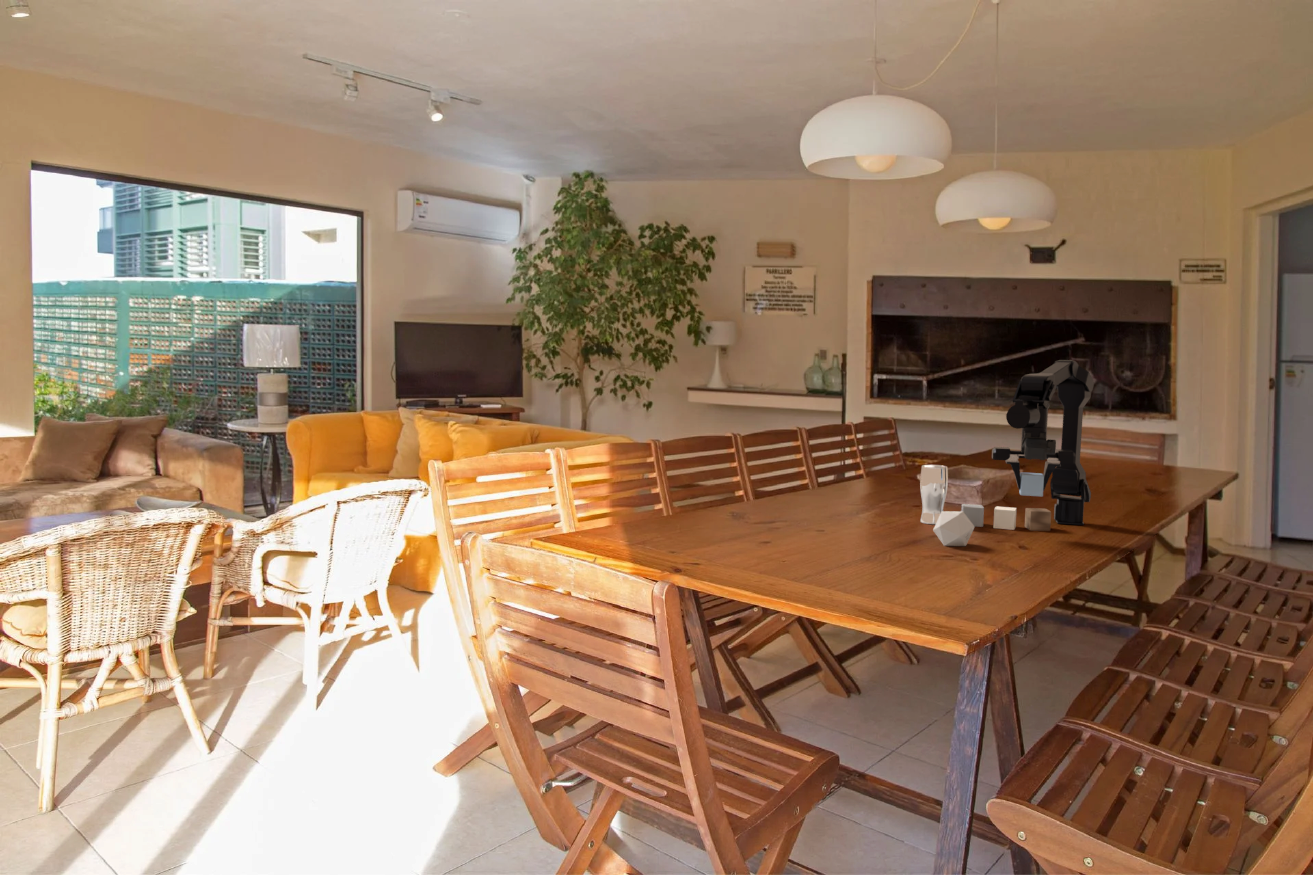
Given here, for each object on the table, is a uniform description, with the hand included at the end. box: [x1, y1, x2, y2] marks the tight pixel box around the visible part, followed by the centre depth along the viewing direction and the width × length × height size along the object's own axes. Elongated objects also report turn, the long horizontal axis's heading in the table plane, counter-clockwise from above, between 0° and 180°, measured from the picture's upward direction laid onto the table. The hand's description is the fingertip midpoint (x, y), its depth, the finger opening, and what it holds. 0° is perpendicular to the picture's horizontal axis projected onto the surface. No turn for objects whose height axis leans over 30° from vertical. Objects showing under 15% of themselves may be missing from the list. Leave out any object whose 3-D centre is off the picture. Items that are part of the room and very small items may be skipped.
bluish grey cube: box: [1018, 471, 1044, 497], centre depth 232 cm, size 5×5×5 cm
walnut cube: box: [1024, 507, 1052, 532], centre depth 244 cm, size 5×5×5 cm
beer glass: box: [919, 464, 949, 526], centre depth 250 cm, size 7×7×15 cm
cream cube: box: [993, 505, 1017, 531], centre depth 245 cm, size 5×5×5 cm
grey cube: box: [961, 503, 985, 528], centre depth 248 cm, size 5×5×5 cm
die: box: [932, 510, 975, 547], centre depth 222 cm, size 8×9×10 cm
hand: (1031, 490), depth 232 cm, fingers closed on bluish grey cube, 5 cm apart
